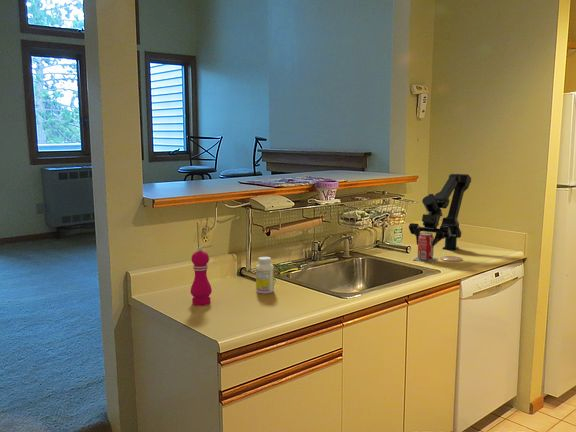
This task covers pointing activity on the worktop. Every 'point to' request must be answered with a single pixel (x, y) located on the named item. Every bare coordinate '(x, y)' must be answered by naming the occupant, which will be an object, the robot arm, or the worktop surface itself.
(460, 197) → the robot arm
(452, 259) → the disc
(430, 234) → the soda can
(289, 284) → the worktop surface
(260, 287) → the supplement bottle
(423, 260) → the coaster
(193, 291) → the pepper mill
